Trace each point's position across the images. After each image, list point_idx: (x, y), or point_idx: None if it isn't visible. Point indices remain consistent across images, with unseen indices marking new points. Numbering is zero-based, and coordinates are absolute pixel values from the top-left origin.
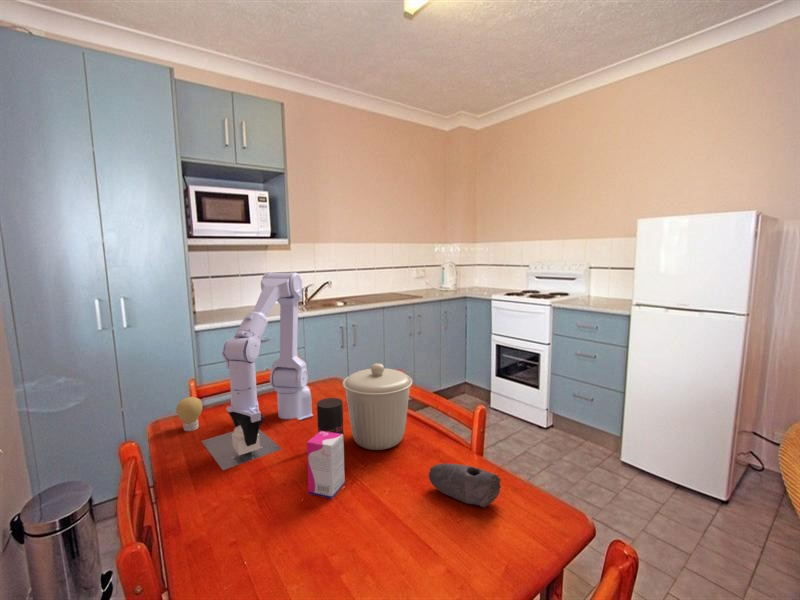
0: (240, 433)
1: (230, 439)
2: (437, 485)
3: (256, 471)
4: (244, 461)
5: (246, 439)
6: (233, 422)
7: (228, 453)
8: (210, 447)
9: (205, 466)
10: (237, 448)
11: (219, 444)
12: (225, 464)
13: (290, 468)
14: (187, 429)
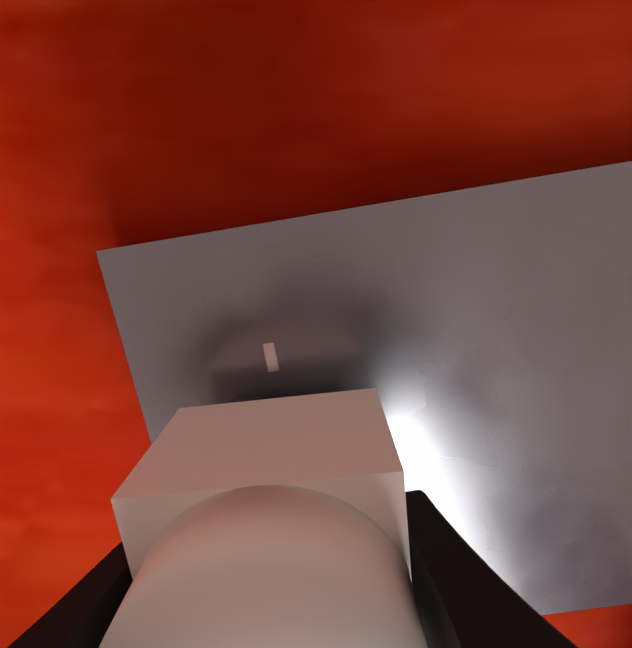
0: (118, 615)
1: (620, 384)
2: None
3: (67, 452)
4: (158, 418)
5: (61, 602)
6: (554, 627)
7: (364, 331)
8: (590, 203)
9: (332, 135)
10: (200, 431)
11: (590, 286)
12: (183, 282)
13: (14, 619)
14: None
